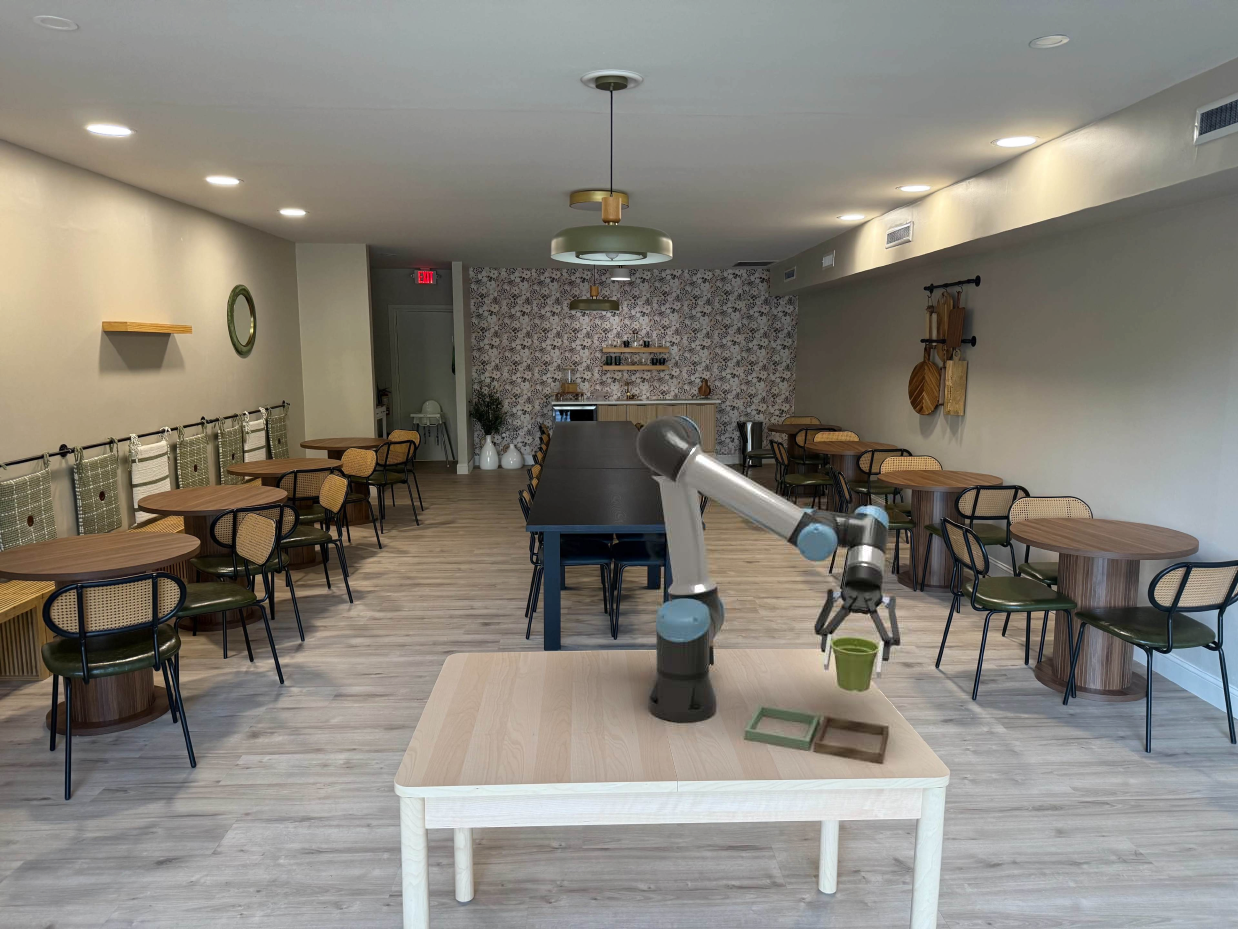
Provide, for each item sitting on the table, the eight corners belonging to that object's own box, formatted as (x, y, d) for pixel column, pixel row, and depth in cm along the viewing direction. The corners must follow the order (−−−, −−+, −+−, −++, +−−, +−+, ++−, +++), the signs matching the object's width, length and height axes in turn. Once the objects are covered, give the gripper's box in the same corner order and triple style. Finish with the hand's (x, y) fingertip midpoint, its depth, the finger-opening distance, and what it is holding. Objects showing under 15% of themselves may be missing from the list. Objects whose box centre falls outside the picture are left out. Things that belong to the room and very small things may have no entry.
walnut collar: (813, 751, 159) (814, 742, 159) (824, 724, 171) (824, 715, 171) (882, 764, 154) (882, 754, 154) (888, 735, 166) (888, 726, 166)
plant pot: (819, 684, 162) (820, 642, 161) (848, 673, 168) (850, 633, 167) (857, 700, 155) (859, 656, 154) (887, 688, 160) (889, 646, 159)
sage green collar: (744, 739, 165) (744, 730, 165) (759, 713, 177) (759, 705, 177) (808, 750, 160) (808, 741, 160) (819, 723, 172) (819, 714, 171)
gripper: (920, 587, 169) (911, 687, 157) (813, 576, 177) (797, 670, 165) (920, 568, 163) (911, 671, 151) (810, 558, 172) (793, 654, 160)
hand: (852, 670), depth 158 cm, fingers closed on plant pot, 9 cm apart
